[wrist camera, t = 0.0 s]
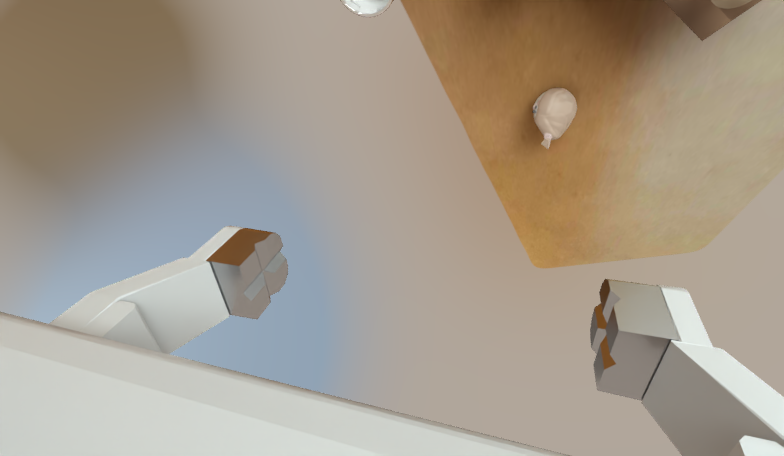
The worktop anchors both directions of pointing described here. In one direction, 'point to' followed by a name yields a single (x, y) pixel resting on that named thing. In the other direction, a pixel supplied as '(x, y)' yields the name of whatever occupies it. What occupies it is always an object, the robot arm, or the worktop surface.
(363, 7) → the beer glass
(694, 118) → the worktop surface
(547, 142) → the garlic bulb
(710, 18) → the block
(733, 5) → the peg
